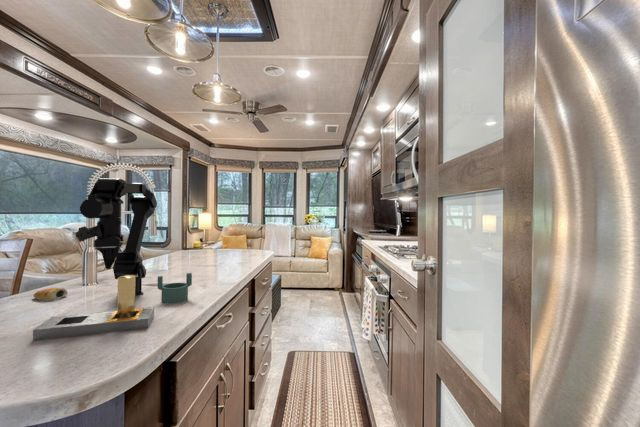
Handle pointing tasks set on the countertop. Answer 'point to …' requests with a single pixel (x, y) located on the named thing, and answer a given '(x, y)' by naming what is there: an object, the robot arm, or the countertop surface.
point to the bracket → (174, 290)
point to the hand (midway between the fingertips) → (109, 266)
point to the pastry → (51, 294)
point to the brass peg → (126, 297)
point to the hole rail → (92, 324)
